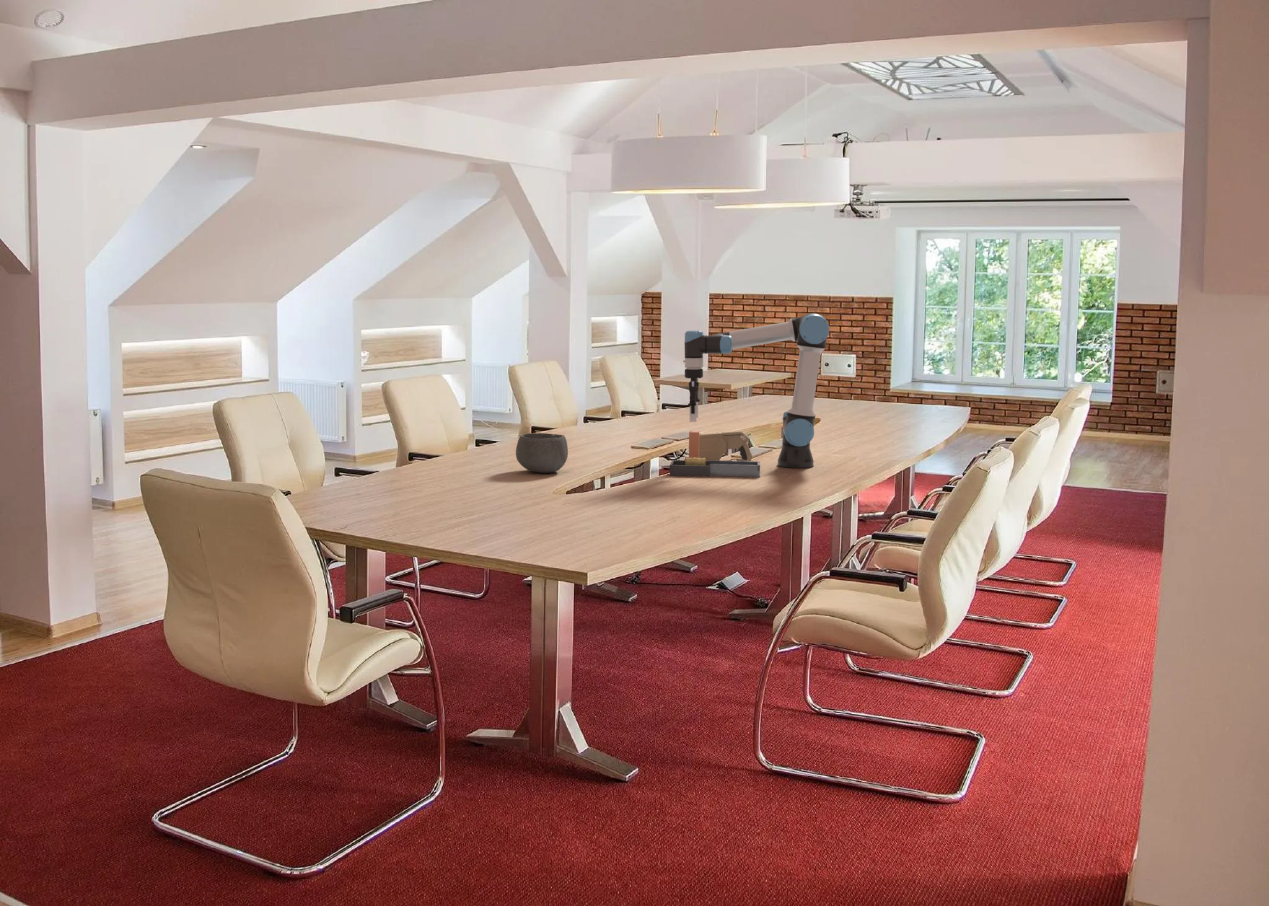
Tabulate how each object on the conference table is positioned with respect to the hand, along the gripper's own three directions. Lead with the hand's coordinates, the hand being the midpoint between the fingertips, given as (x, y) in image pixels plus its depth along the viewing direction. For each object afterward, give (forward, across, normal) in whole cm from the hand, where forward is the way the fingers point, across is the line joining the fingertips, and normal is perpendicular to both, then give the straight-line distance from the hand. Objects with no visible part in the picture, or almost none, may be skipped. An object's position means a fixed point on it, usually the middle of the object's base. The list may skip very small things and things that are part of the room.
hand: (693, 419), depth 503 cm
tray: (+20, +12, -1) cm, 24 cm away
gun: (+21, -11, +11) cm, 26 cm away
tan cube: (+18, +12, +3) cm, 22 cm away
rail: (+21, +12, +17) cm, 30 cm away
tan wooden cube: (+18, +12, -1) cm, 22 cm away
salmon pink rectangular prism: (+20, 0, 0) cm, 21 cm away
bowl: (+20, +18, -61) cm, 66 cm away
